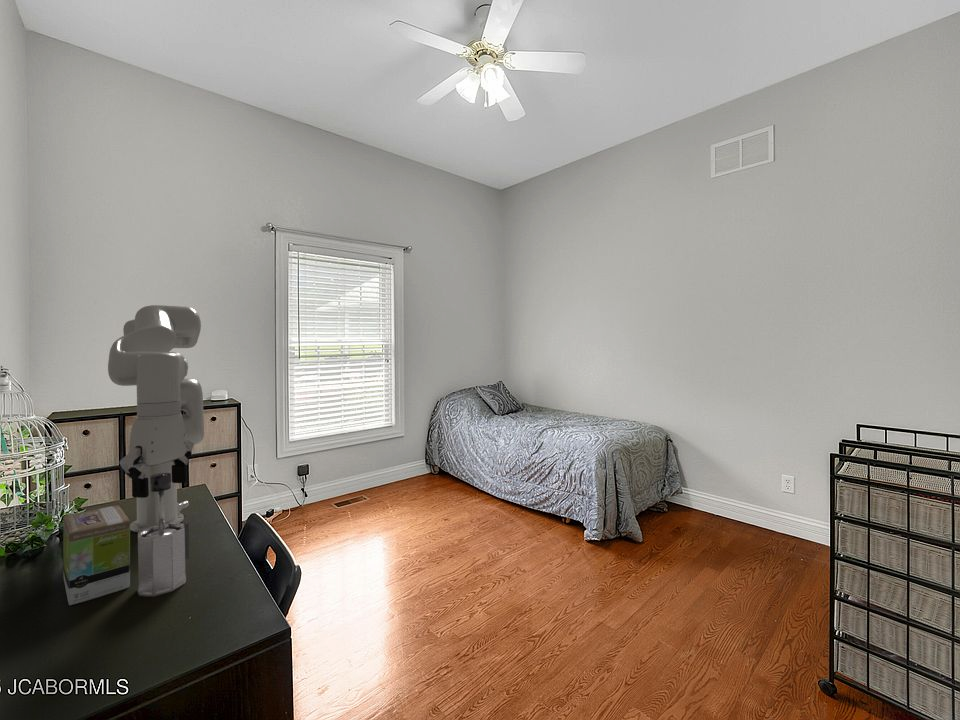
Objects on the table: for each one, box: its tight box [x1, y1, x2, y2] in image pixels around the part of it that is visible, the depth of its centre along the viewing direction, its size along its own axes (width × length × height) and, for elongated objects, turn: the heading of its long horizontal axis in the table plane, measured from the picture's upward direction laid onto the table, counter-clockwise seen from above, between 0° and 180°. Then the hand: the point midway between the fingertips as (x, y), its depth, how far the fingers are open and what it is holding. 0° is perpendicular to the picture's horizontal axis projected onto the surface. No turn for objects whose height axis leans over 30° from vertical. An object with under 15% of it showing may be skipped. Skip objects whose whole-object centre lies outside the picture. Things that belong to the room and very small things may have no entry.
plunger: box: [146, 473, 177, 538], centre depth 93 cm, size 5×5×13 cm
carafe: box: [137, 522, 190, 598], centre depth 95 cm, size 11×8×12 cm
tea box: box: [62, 504, 131, 606], centre depth 94 cm, size 15×10×15 cm, turn 47°
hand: (160, 489), depth 93 cm, fingers open, 9 cm apart
